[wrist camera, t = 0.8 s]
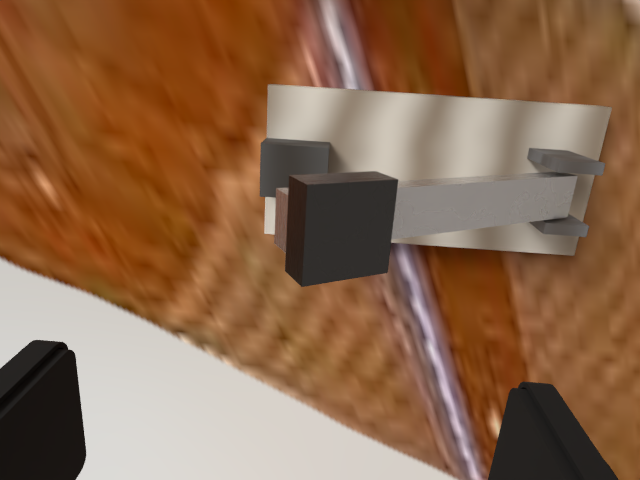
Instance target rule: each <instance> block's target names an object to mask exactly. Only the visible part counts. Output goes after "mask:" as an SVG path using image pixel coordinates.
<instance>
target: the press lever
mask: <svg viewBox="0 0 640 480" xmlns="http://www.w3.org/2000/svg"><path fill="white" fill-rule="evenodd" d="M577 177H578V176H577V175H572V174H568V173H559V172H539V173H523V174H506V175H489V176H472V177H456V178H439V179H422V180H405V181H398V179H396V178H393V177H390V176H388V175H385V174H382V173H380V172H377V171H367V172H346V173H325V174H303V175H289V187H288V188H276V209H275V240H274V243H275V244H276V245H277V246H278V247H279V248H281V249H282V250H283V251H284V252H285V253H286V261H285V271H286V272H287V273H288V274H289V275H290V276H291V277H292V278H293V279H294V280H295V281H296V282H297V283H298V284H299V285H301V286H302V287H304V286H310V285H316V284H322V283H328V282H334V281H340V280H346V279H352V278H358V277H364V276H370V275H376V274H383V273H387V272H388V264H389V255H390V247H391V240H392V239H400V238H407V237H415V236H423V235H431V234H439V233H447V232H455V231H462V230H470V229H478V228H486V227H494V226H502V225H510V224H517V223H525V222H533V221H541V220H549V219H557V218H565V217H568V214H569V210H570V206H571V202H572V198H573V193H574V189H575V185H576V181H577Z"/></svg>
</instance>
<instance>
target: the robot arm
mask: <svg viewBox="0 0 640 480" xmlns="http://www.w3.org/2000/svg"><path fill="white" fill-rule="evenodd" d="M85 458H86V446H85V437H84V428H83V419H82V411H81V402H80V393H79V385H78V375H77V366H76V358H75V353H74V352H73V351H72V350H68V347H67V345H66V344H65V343H63V342H55V341H43V340H34V341H32V342H30V343H29V344H28V345H27V346H26V347H25V348H23V349H22V350H21V351H20V352H19V353H18V354H17V355H15V356H14V357H13V358H12V359H11V360H10V361H9V362H8V363H6V364H5V365H4V366H3V367H2V368H1V369H0V480H76V478H77V477H78V475H79V473H80V472H81V470H82V468H83V465H84V462H85ZM488 480H618V478H617V477H616V475H615V474H614V472H613V471H612V469H611V468H610V466H609V465H608V464H607V463H606V462H605V461H604V459H603V458H602V456H601V455H600V453H599V452H598V450H597V449H596V447H595V446H594V444H593V443H592V442H591V440H590V439H589V437H588V436H587V434H586V433H585V431H584V430H583V428H582V427H581V425H580V424H579V422H578V421H577V419H576V418H575V416H574V415H573V413H572V412H571V410H570V409H569V407H568V406H567V405H566V403H565V402H564V400H563V399H562V397H561V396H560V394H559V393H558V391H557V390H556V388H555V387H554V386H553V385H551V384H544V383H533V382H522V383H520V385H519V387H518V388H512V389H511V390H510V393H509V396H508V400H507V404H506V408H505V412H504V417H503V421H502V425H501V429H500V433H499V437H498V441H497V445H496V449H495V453H494V457H493V462H492V466H491V470H490V474H489V478H488Z"/></svg>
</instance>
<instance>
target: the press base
mask: <svg viewBox="0 0 640 480" xmlns="http://www.w3.org/2000/svg"><path fill="white" fill-rule="evenodd" d="M611 109H612V107H605V106H597V105H582V104H567V103H551V102H536V101H521V100H506V99H491V98H475V97H460V96H445V95H430V94H415V93H399V92H384V91H369V90H354V89H339V88H323V87H308V86H293V85H278V84H270V85H268V109H267V138H266V139H265V140H264V141H263V142H262V143H261V162H260V196H261V197H265V233H264V234H275V209H276V188H288V187H289V175H303V174H325V173H346V172H367V171H377V172H380V173H382V174H385V175H388V176H390V177H393V178H396V179H398V181H405V180H422V179H439V178H456V177H472V176H489V175H506V174H523V173H539V172H559V173H568V174H572V175H577V176H578V177H577V181H576V185H575V189H574V193H573V198H572V202H571V206H570V210H569V214H568V217H565V218H557V219H549V220H541V221H533V222H525V223H517V224H510V225H502V226H494V227H486V228H478V229H470V230H462V231H455V232H447V233H439V234H431V235H423V236H415V237H407V238H400V239H392V240H391V243H403V244H417V245H431V246H445V247H459V248H473V249H487V250H501V251H515V252H529V253H543V254H557V255H571V256H574V254H575V250H576V246H577V243H578V239H579V237H586V236H587V232H588V228H589V226H588V225H586V224H585V223H583V219H584V215H585V211H586V207H587V203H588V199H589V196H590V192H591V188H592V184H593V180H594V176H595V175H602V174H603V171H604V167H605V163H602V162H599V161H598V160H599V156H600V152H601V149H602V145H603V141H604V137H605V133H606V129H607V125H608V121H609V117H610V113H611Z"/></svg>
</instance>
